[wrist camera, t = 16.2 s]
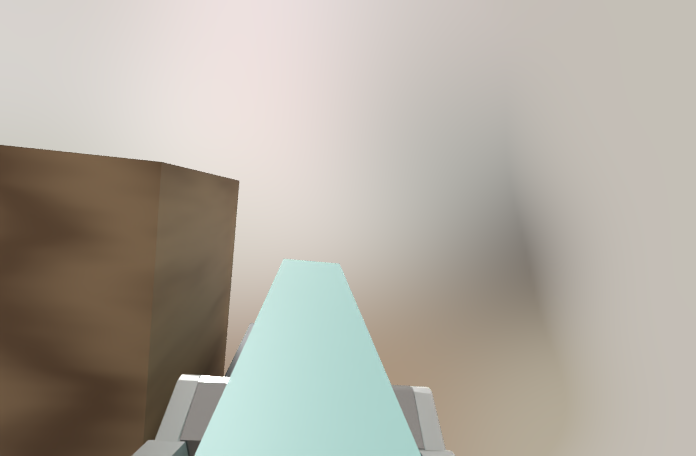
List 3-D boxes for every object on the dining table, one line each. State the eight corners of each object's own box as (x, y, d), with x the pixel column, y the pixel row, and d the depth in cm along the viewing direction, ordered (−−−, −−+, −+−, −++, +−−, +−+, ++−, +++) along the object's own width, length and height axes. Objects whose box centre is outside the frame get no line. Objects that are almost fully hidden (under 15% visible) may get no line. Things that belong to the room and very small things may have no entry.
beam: (153, 749, 5) (174, 499, 5) (278, 313, 24) (283, 258, 24) (412, 738, 5) (442, 506, 5) (333, 317, 24) (339, 263, 24)
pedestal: (-133, 899, 13) (-121, 132, 11) (89, 549, 26) (111, 167, 24) (114, 878, 14) (161, 162, 12) (209, 549, 27) (239, 180, 25)
